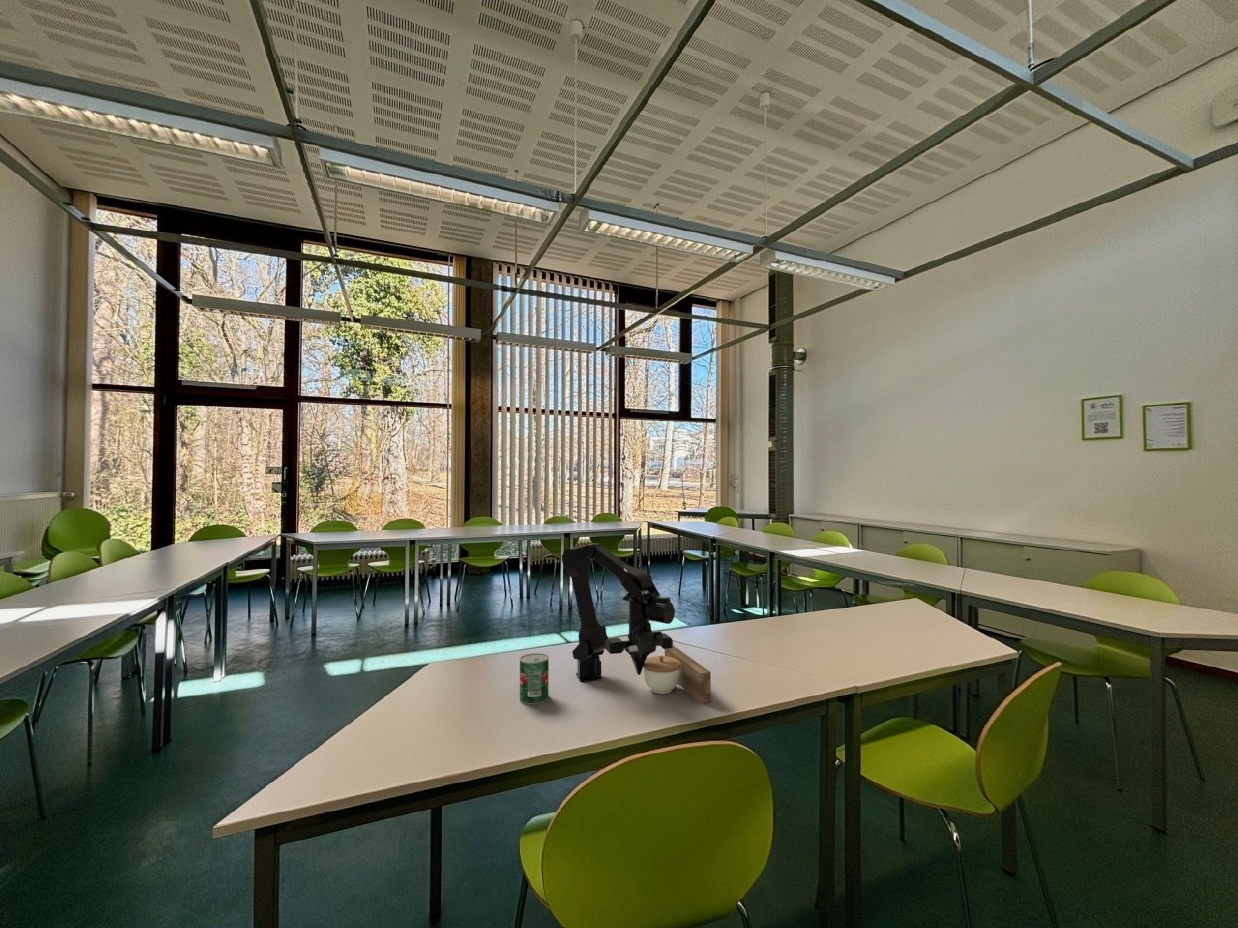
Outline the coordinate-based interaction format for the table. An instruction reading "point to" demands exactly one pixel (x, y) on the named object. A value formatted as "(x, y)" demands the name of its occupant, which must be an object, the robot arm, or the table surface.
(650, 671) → the lidded jar
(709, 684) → the walnut board
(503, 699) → the table surface
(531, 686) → the canned tomato
